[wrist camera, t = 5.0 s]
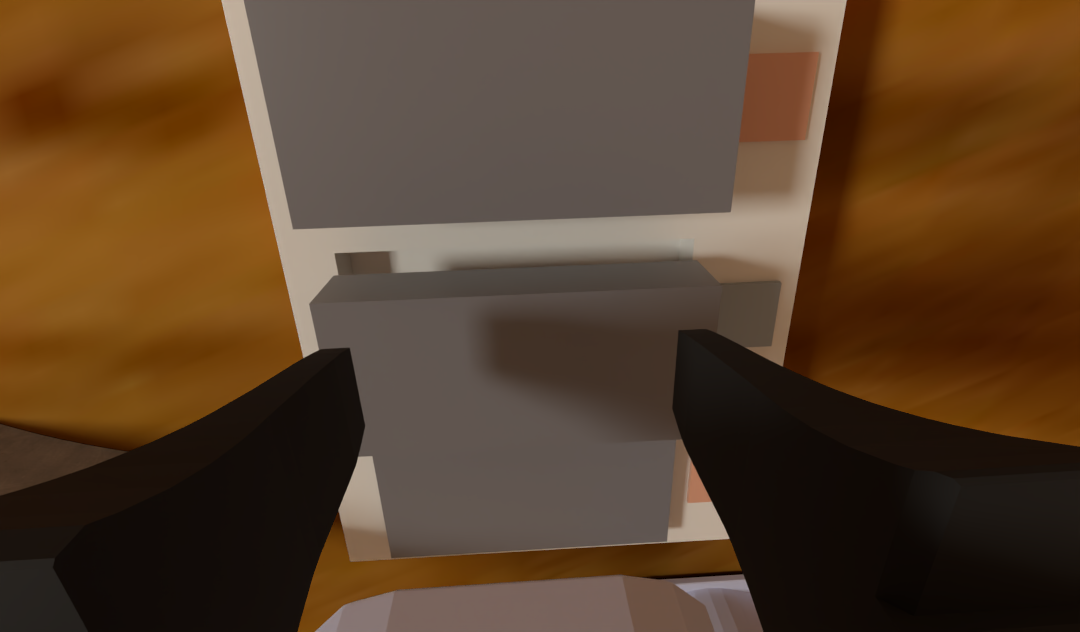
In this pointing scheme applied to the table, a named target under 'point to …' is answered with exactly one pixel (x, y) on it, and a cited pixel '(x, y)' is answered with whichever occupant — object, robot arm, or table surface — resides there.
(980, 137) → the table surface
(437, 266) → the switch unit
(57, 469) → the hip flask
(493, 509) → the button
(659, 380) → the button middle
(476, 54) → the button
